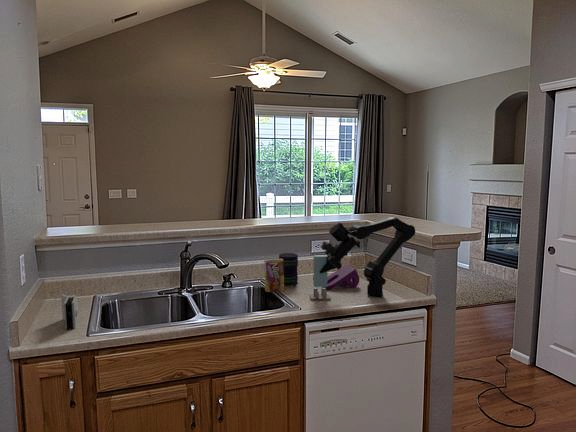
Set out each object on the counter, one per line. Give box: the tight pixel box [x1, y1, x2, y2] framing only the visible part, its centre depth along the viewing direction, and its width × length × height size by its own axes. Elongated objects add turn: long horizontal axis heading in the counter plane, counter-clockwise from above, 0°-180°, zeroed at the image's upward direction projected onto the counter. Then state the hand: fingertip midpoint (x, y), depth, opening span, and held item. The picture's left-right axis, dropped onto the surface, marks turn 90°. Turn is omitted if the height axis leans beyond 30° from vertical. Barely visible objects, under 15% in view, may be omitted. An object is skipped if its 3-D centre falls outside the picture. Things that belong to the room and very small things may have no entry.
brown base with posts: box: [309, 287, 332, 302], centre depth 202 cm, size 9×6×4 cm
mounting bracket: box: [322, 264, 360, 291], centre depth 221 cm, size 9×8×18 cm
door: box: [312, 254, 328, 288], centre depth 200 cm, size 6×3×14 cm, turn 92°
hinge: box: [60, 294, 79, 331], centre depth 169 cm, size 14×5×10 cm, turn 31°
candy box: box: [264, 258, 285, 293], centre depth 213 cm, size 9×4×15 cm, turn 104°
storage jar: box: [278, 252, 299, 287], centre depth 226 cm, size 10×10×15 cm
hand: (319, 271), depth 200 cm, fingers closed on door, 3 cm apart
